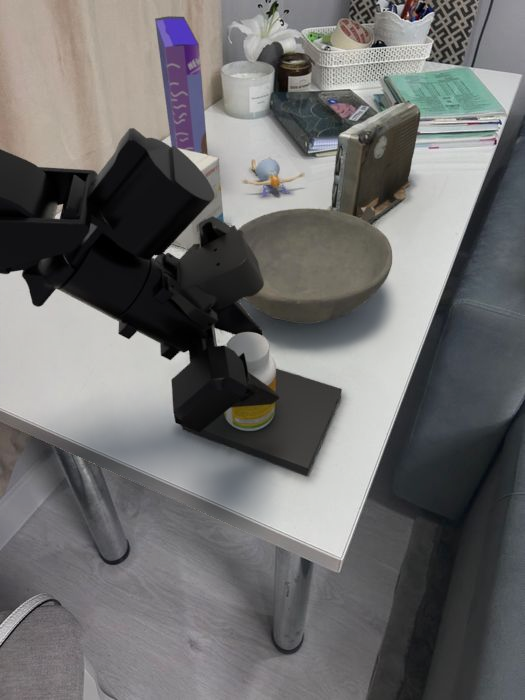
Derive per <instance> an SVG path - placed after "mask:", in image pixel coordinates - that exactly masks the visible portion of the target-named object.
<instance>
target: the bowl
mask: <svg viewBox="0 0 525 700" xmlns="http://www.w3.org/2000/svg"><path fill="white" fill-rule="evenodd" d="M237 230H241V231H243V233H244V236H245V240H246V242H247V243H248V245H249V247H250V248H251V250H252V252H253V253H254V255H255V257H256V259H257V260H258V263H259V264H258V265H259V268H260V272H261V275H262V278H263V281H264V285H263V288H262V289H261V290H260V291H259V292H258V293H257V294H255V295H253V296H251V297H244V298H243V299H244V300H245V301H247V302H248V303H249V304H250V306H252V307H253V308H255V309H256V310H258V311H259V312H261V313H263V314H265V315H267V316H269V317H271V318H273V319H277V320H281V321H287V322H291V323H297V324H314V323H321V322H327V321H330V320H334V319H337V318H340V317H343V316H345V315H347V314H349V313H351V312H353V311H355V310H357V309H358V308H360V307H361V306H362V305H364V304H365V303H366V302H367V301H369V300H370V299H371V298H373V296H374V295H375V294H376V293H377V292H378V291H379V289H381V287H382V286H383V285H384V284H385V282H386V280H387V279H388V276H389V274H390V272H391V269H392V265H393V250H392V246H391V245H392V244H391V243H390V241H389V238H388V237H387V236H386V235H385V234H384V233H383V232H382V231H381V230H380V229H379V228H377V227H376V226H374V225H373V224H371V223H368V222H366V221H364V220H362V219H360V218H358V217H356V216H352V215H349V214H346V213H342V212H336V211H331V210H327V209H322V208H291V209H289V208H288V209H283V210H277V211H274V212H269V213H266V214H263V215H260V216H258V217H255V218H253V219H251V220H249V221H247V222H246V223H244V224H243V225H241V226H240V227H239V228H237Z"/></svg>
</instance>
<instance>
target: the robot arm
mask: <svg viewBox="0 0 525 700" xmlns="http://www.w3.org/2000/svg"><path fill="white" fill-rule="evenodd" d="M213 199H214V192H213V189H212V187H211V185H210V183H209V182H208V180H207V179H206V177H205V176H204V174H203V173H202V172H201V171H200V170H199V168H198V167H197V166H196V165H195V164H194V163H193V162H192V161H191V160H190V159H189V158H188V157H187V156H186V155H185V154H184V153H182V152H181V151H180V150H179V149H178V148H176V147H175V146H170V145H169V144H167V143H166V142H164V141H162V140H160V139H158V138H155V137H146V136H144V135H143V134H142V133H141V132H139V131H138V130H137V129H136V128H135V127H132V128H131V127H130V128H128V129H127V131H126V132H125V133H124V135H123V136H122V137H121V138H120V140H119V141H118V144H117V146H116V149H115V151H114V153H113V154H112V156H110V159H108V161H107V162H106V163H105V164H104V166H103V167H102V169H100V171H99V173H98V172H97V171H96V170H93V169H81V168H80V169H79V168H64V167H63V168H61V167H49V166H48V167H44V166H38V165H36V164H35V163H33V162H31V161H29V160H27V159H25V158H22V157H21V156H18V155H16V154H13V153H10V152H8V151H6V150H3V149H1V148H0V274H1V275H10V274H11V273H13V272H19V271H21V277H22V279H23V280H24V281H25V282H26V285H27V287H28V292H29V295H30V299H31V304H32V305H33V306H34V307H37V308H39V307H42V306H44V305H45V303H46V302H47V300H48V299H49V298H50V297H51V296H52V295H53V293H54V292H55V291H56V290H57V291H59V292H62V293H64V294H66V295H67V296H69V297H71V298H73V299H75V300H77V301H79V302H81V303H83V304H85V305H87V306H88V307H90V308H92V309H94V310H96V311H98V312H100V313H102V314H104V315H106V316H107V317H109V318H111V319H113V320H115V321H116V322H118V332H117V334H118V335H119V336H122V337H123V338H126V340H127V339H128V340H130V339H131V338H132V337H133V336H134V335H135V334H136V333H140V334H141V335H143V336H145V337H147V338H149V339H151V340H153V341H155V342H156V343H159V344H160V346H159V347H160V348H159V349H160V357H163V358H165V359H167V360H169V361H171V360H173V359H174V358H175V357H176V356H178V354H179V353H180V352H181V353H183V354H184V353H187V352H188V356H189V357H188V359H189V363H188V364H187V365H186V366H185V367H184V368H183V369H181V370H180V371H179V372H178V373H177V374H176V375H175V376H174V377H172V379H171V397H172V413H173V418H174V423H175V424H177V425H179V426H181V427H182V426H184V427H186V428H188V429H191V430H193V431H195V432H198V433H200V432H201V431H202V430H203V429H205V428H206V427H207V426H208V425H210V424H211V423H212V422H213V421H214V420H216V419H217V418H218V417H219V416H221V415H222V414H223V413H224V412H226V411H227V410H228V409H229V408H231V407H242V406H256V405H270V404H273V403H274V402H276V401H277V400H278V399H279V395H278V394H277V393H276V392H275V391H274V390H272V389H271V388H270V387H269V386H267V385H266V384H264V383H263V382H262V381H260V380H259V379H257V378H256V377H255V376H253V375H252V374H250V373H249V372H248V368H247V363H246V358H245V354H244V353H242V354H241V355H240V356H238V355H237V354H236V353H235V351H233V350H232V349H230V348H228V347H226V346H227V345H225V344H221V345H218V342H217V336H216V330H220V331H223V332H226V333H227V334H228V333H229V334H232V335H236V334H239V333H243V332H253V333H257V334H260V335H262V336H263V335H264V331H263V330H262V328H261V327H260V326H259V325H258V323H256V321H255V320H254V319H253V318H252V316H251V315H250V314H249V312H247V310H246V309H245V308H244V307H243V306H242V304H241V303H240V300H243V299H245V298H244V297H251V296H253V295H255V294H257V293H258V292H259V291H260V290H261V289H262V288H263V285H264V281H263V278H262V275H261V272H260V268H259V265H258V264H259V263H258V260H257V259H256V257H255V255H254V253H253V252H252V250H251V248H250V247H249V245H248V243H247V242H246V240H245V236H244V233H243V231H241V230H238V228H237V227H236V225H235V224H234V225H231V226H230V225H229V224H227V223H225V221H224V222H222V221H220V220H219V219H217V218H215V217H214V216H212V217H210V218H208V219H206V220H204V221H202V222H200V223H199V224H198V225H199V240H200V244H194V245H193V246H192V247H191V248H190V249H187V251H185V253H183V255H182V256H181V257H176V256H175V255H174V254H172V253H170V252H166V251H167V250H168V249H169V247H171V246H172V245H173V244H172V243H173V242H174V241H175V240H176V239H177V238H178V237H179V236H180V235H181V233H182V232H183V231H184V230H185V229H186V228H187V227H188V226H189V225H190V224H191V223H192V222H193V221H194V220H195V218H196V217H197V216H198V215H199V214H200V213H201V212H202V211H203V210H204V209H205V208H206V207H207V206H208V204H209V203H210V202H211V201H212V200H213ZM61 205H62V207H61V212H60V214H59V215H60V216H59V218H56V216H57V211H58V206H61ZM165 252H166V253H165ZM154 256H156V257H154Z"/></svg>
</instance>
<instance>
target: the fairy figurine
mask: <svg viewBox="0 0 525 700" xmlns="http://www.w3.org/2000/svg"><path fill="white" fill-rule="evenodd" d="M251 169H252V171H254V172H255V175H256V177H257V178H258V179H259V180H260V181H249V180H248V179H246V178H243V179H242V183H243V184H247V185H253V186H262V189H263V190H262V191H263V192H262V194H261V197H262V198H265V197H266V196H267V195H269V193H270V192H271V190H273V188H274V189H276V188H279V190H281V191H282V192H283V193H284V194H286V195H289V194H291V193H290V191H288V190H287V188H286V186H285V185H284V183H291V182H293V181H296V180H297V179H299V178H303V177H305V172H303V171H302V172H301V173H299V174H298V175H296V176H294V177H291V178H279V174H280V169H281V168H280V164H279V162H278V161H277V160H275V159H273V158H271V157H270V156H269V157H267V158H264V159H262V160H261V161H260V162H258V164H257V165H256V159H255V158H252V159H251ZM270 187H271V188H270ZM281 187H282V188H281Z"/></svg>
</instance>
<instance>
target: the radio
mask: <svg viewBox="0 0 525 700" xmlns="http://www.w3.org/2000/svg"><path fill="white" fill-rule="evenodd" d="M420 121H421V110H420V108H419V107H418V106H417V105H416V104H415V103H413V102H411V101H410V100H407V101H405V102H401V103H397V104H394V105H392V106H390V107H388V108H386V109H384V110H383V111H379V112H378V113H376V114H374V115H372V116H370V117H368V118H367V119H366V120H363V121H362V122H359V123H355V124H354V125H351V126H350V127H349V128H347V129H346V130H345V131H343V132H340V133H339V135H338V137H337V147H336V154H335V164H334V170H333V183H332V189H331V205H330V206H329V207H327V208H326V210H331V211H336V212H342V213H346V214H349V215H352V216H356V217H358V218H360V219H362V220H364V221H366V222H368V223H370V224H371V223H372V222H374V221H375V220H377V219H378V218H379V217H381V216H382V215H384V214H385V213H386V212H387V211H389V210H391V208H393V207H395V206H396V205H397V204H398V203H400V202H401V201H403V200H404V199H405V198H406V195H407V193H406V191H405V190H406V189H407V187H408V186H410V185H411V182H410V181H409V177H410V175H411V170H412V163H413V158H414V154H415V148H416V143H417V136H418V131H419V127H420Z"/></svg>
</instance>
